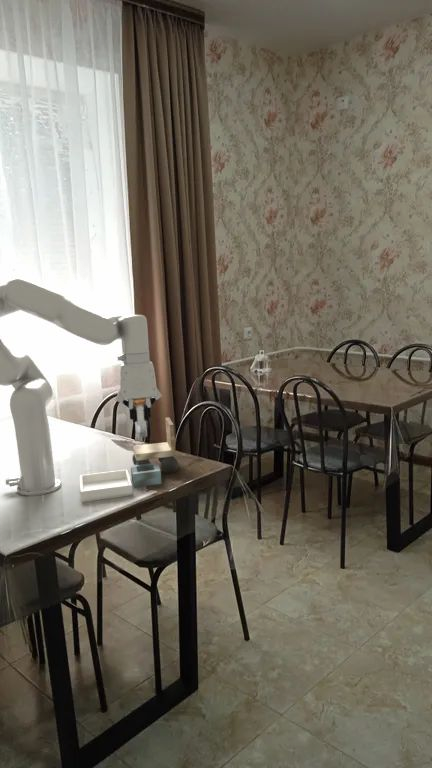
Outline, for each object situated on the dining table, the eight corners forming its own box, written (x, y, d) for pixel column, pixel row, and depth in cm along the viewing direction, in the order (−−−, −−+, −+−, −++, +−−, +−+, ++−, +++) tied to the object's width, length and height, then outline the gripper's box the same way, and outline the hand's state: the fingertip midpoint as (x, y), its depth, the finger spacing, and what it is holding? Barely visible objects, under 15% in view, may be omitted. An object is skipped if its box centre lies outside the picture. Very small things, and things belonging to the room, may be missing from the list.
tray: (81, 501, 174) (80, 491, 173) (80, 484, 187) (79, 475, 186) (132, 495, 176) (131, 484, 176) (128, 478, 190) (127, 469, 189)
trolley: (134, 487, 182) (129, 437, 179) (128, 467, 201) (124, 421, 198) (183, 480, 185) (180, 431, 182) (173, 461, 204) (170, 416, 201)
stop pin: (134, 438, 182) (132, 400, 179) (133, 434, 186) (130, 396, 184) (150, 437, 183) (147, 398, 180) (148, 433, 187) (145, 395, 185)
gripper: (107, 362, 174) (112, 427, 178) (166, 358, 178) (170, 421, 181) (106, 358, 182) (111, 420, 185) (162, 354, 185) (166, 415, 189)
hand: (140, 420), depth 183 cm, fingers closed on stop pin, 3 cm apart
